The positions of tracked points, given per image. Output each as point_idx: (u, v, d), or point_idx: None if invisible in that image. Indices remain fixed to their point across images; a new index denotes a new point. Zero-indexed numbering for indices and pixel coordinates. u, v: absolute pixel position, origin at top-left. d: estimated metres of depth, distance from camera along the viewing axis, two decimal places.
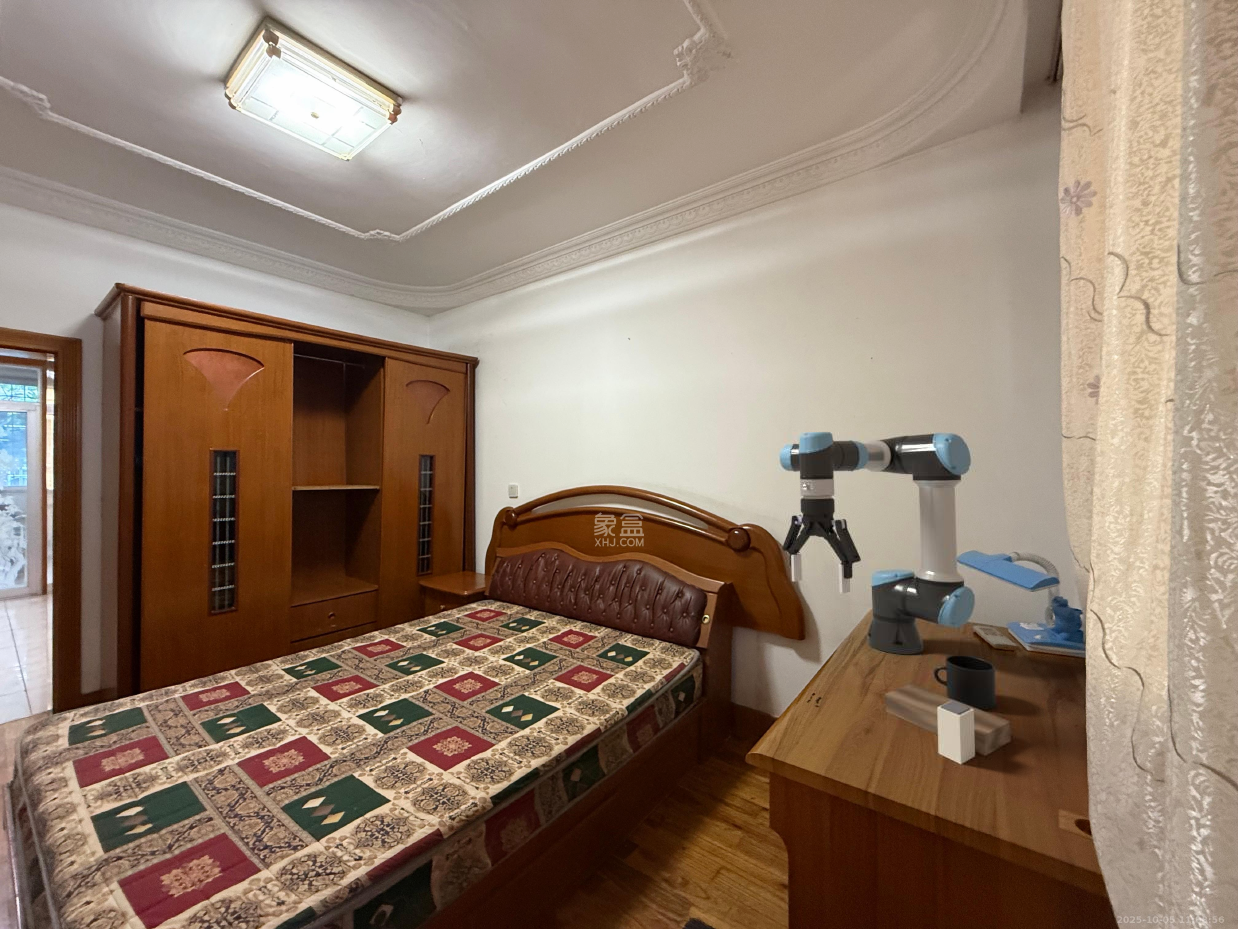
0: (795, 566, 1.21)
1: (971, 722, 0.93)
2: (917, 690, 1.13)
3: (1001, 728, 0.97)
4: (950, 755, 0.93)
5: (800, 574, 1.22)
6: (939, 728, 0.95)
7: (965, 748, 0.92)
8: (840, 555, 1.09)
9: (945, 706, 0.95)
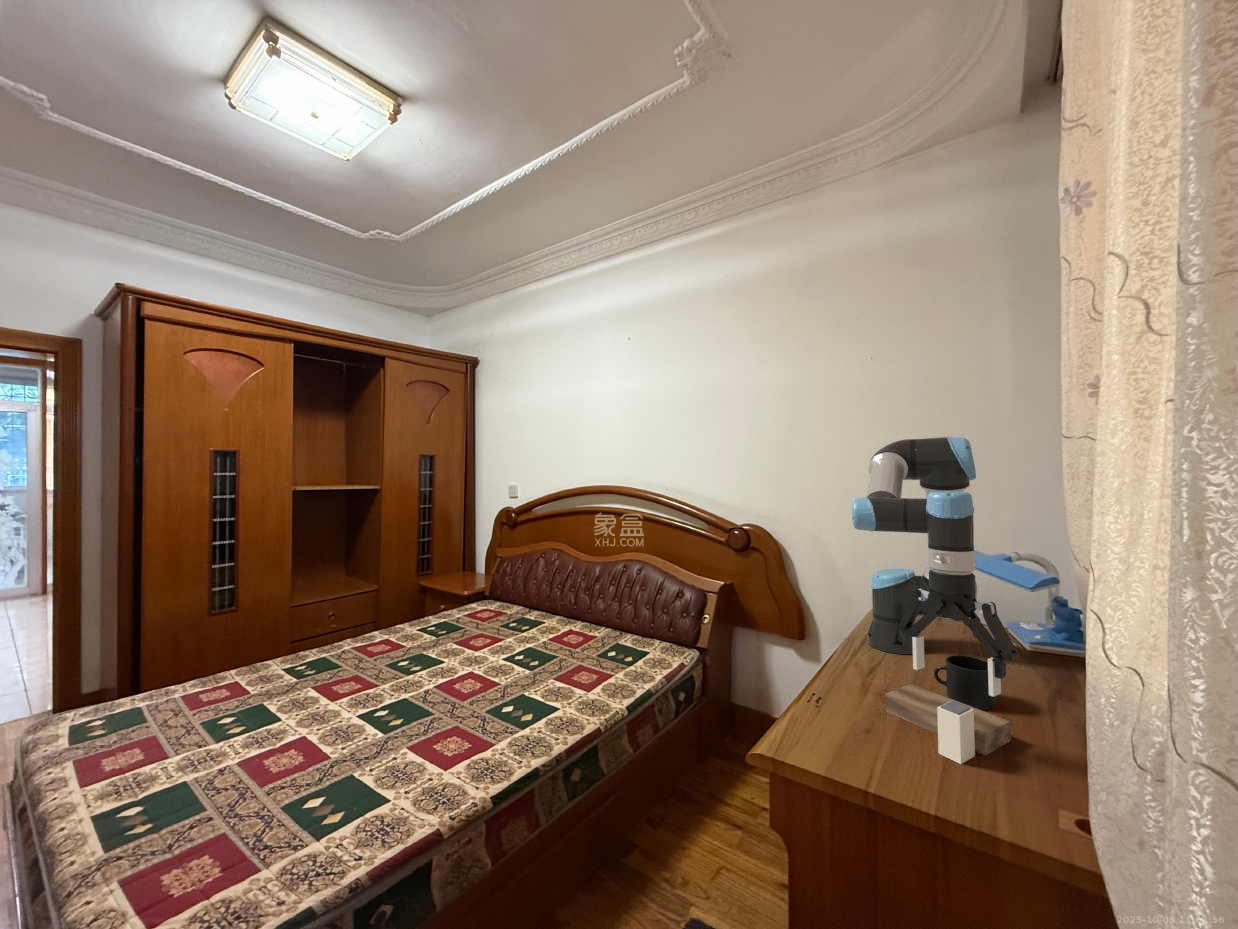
0: (918, 650, 1.00)
1: (971, 722, 0.93)
2: (917, 690, 1.13)
3: (1001, 728, 0.97)
4: (950, 755, 0.93)
5: (922, 660, 1.00)
6: (939, 728, 0.95)
7: (965, 748, 0.92)
8: (990, 648, 0.88)
9: (945, 706, 0.95)
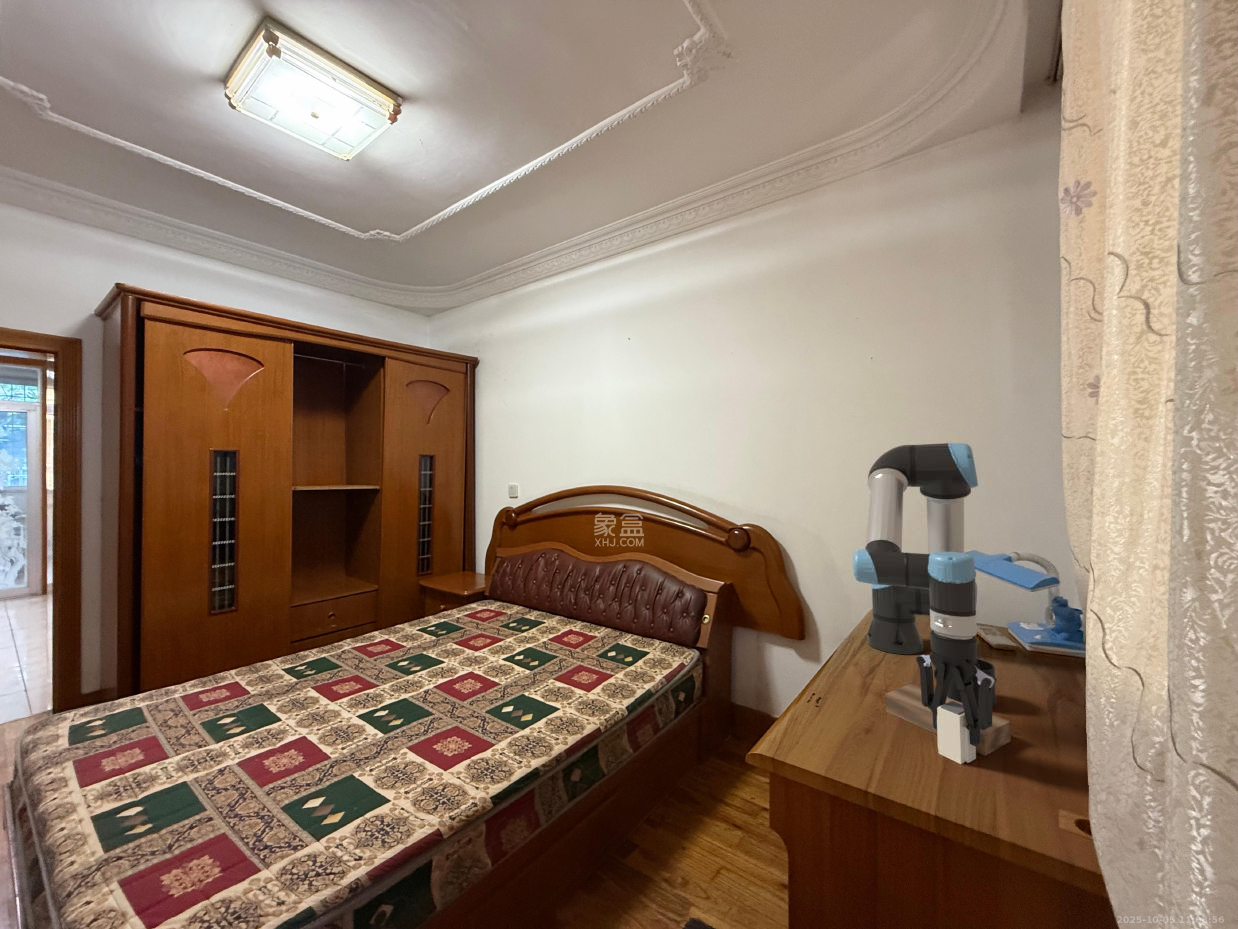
0: None
1: None
2: (917, 690, 1.13)
3: (1001, 728, 0.97)
4: (950, 755, 0.93)
5: None
6: (939, 728, 0.95)
7: None
8: (969, 716, 0.91)
9: (945, 706, 0.95)
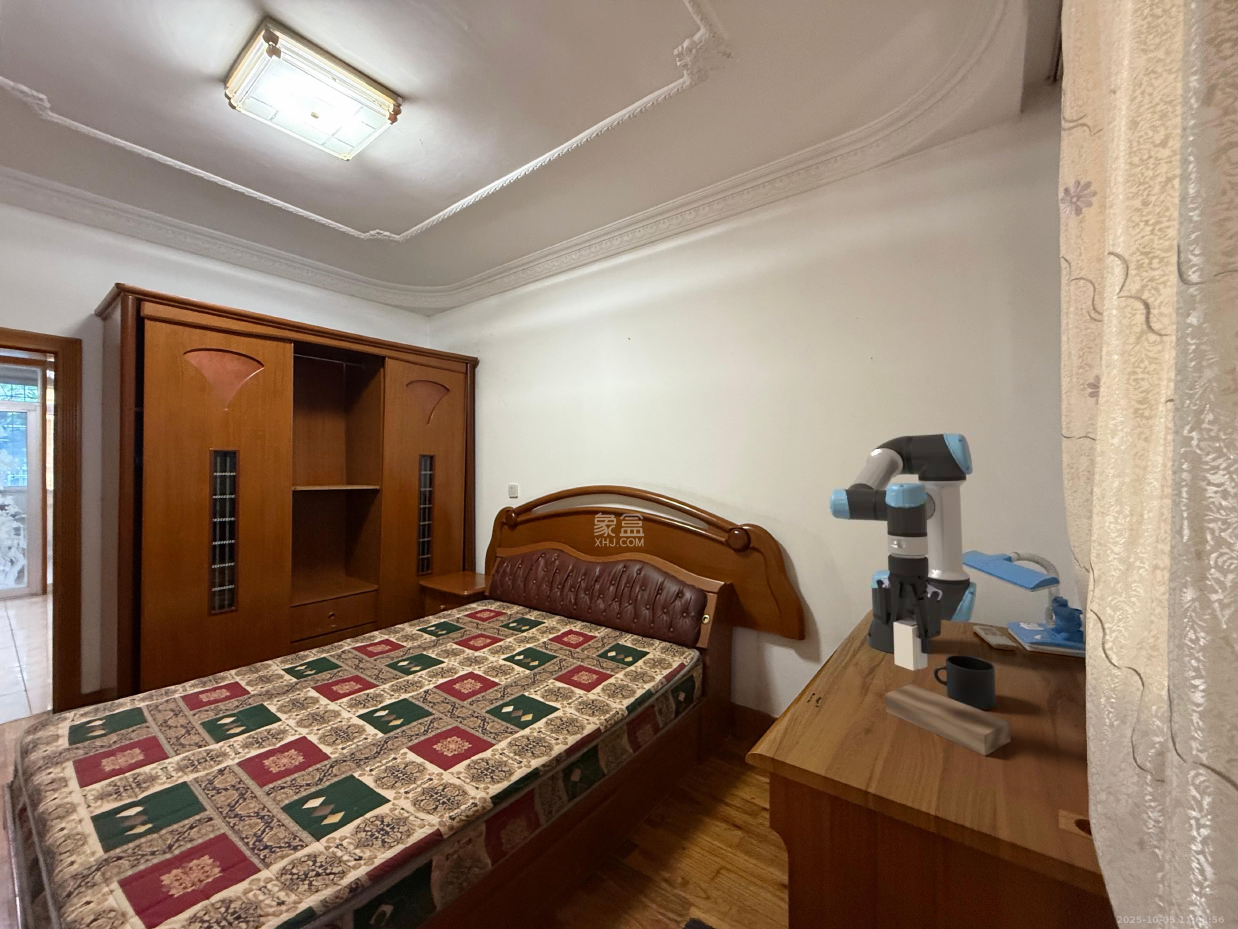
0: None
1: None
2: (917, 690, 1.13)
3: (1001, 728, 0.97)
4: (904, 664, 1.03)
5: None
6: (895, 641, 1.05)
7: None
8: (921, 627, 1.01)
9: (900, 621, 1.05)
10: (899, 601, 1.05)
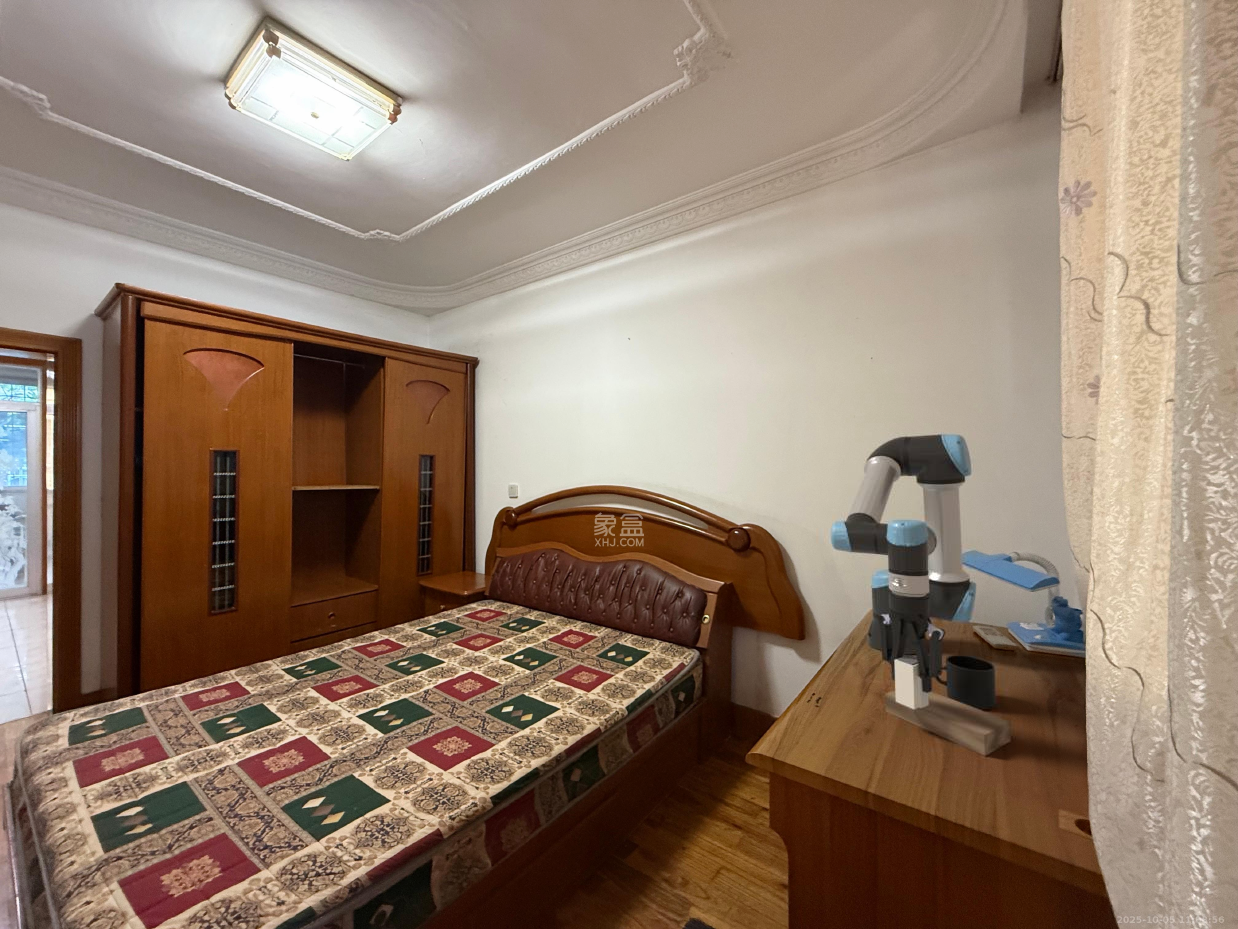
0: None
1: None
2: None
3: (1001, 728, 0.97)
4: (905, 702, 1.03)
5: None
6: (896, 678, 1.05)
7: None
8: (922, 666, 1.01)
9: (901, 658, 1.05)
10: (900, 638, 1.05)
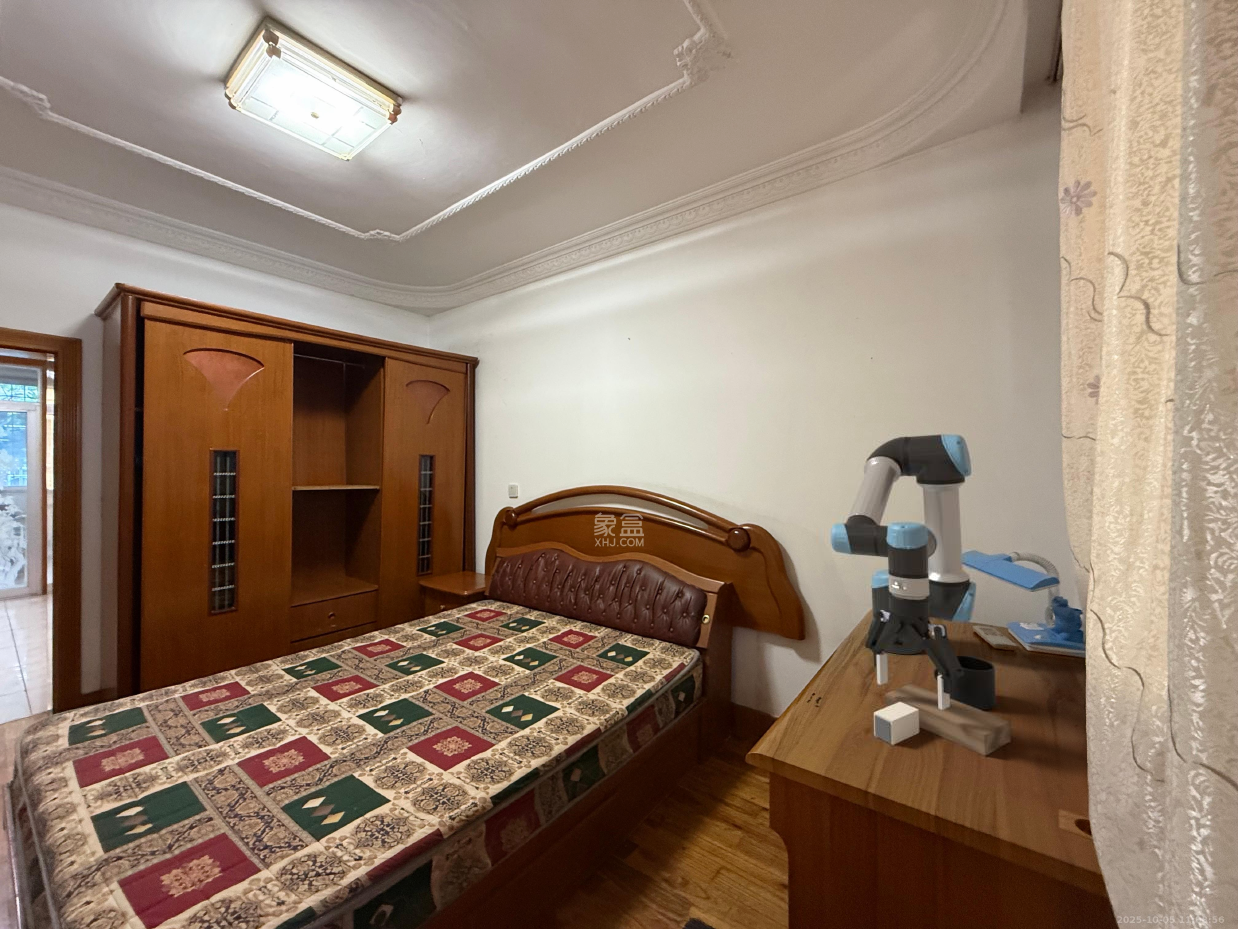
0: (881, 667, 1.10)
1: (898, 723, 0.99)
2: (917, 690, 1.13)
3: (1001, 728, 0.97)
4: None
5: (885, 676, 1.10)
6: None
7: (912, 728, 1.01)
8: (939, 666, 0.98)
9: (877, 733, 1.01)
10: (892, 636, 1.07)
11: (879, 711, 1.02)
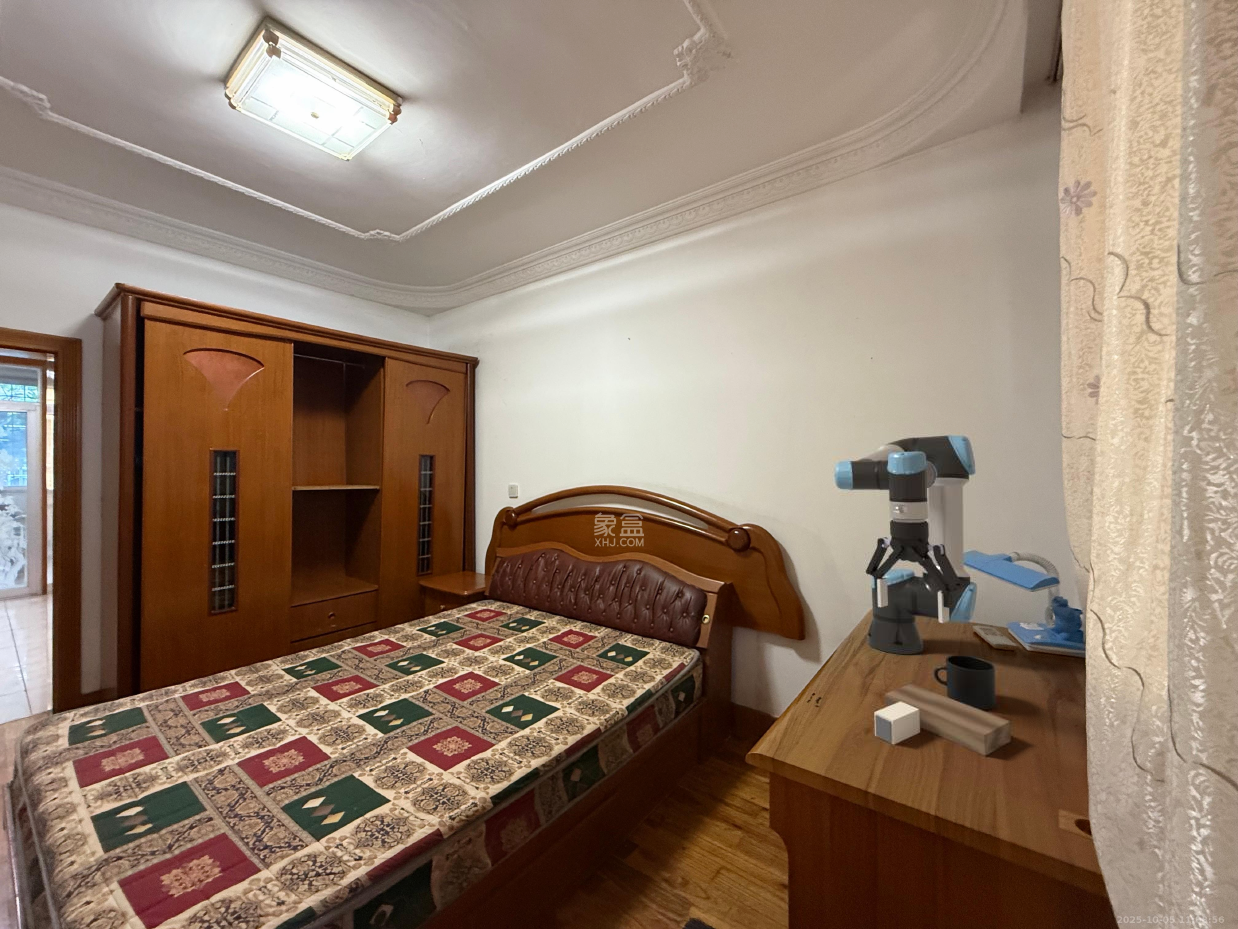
0: (882, 590, 1.15)
1: (899, 722, 0.99)
2: (917, 690, 1.13)
3: (1001, 728, 0.97)
4: None
5: (886, 599, 1.16)
6: None
7: (912, 727, 1.01)
8: (939, 582, 1.03)
9: (878, 733, 1.01)
10: (893, 560, 1.12)
11: (880, 711, 1.02)
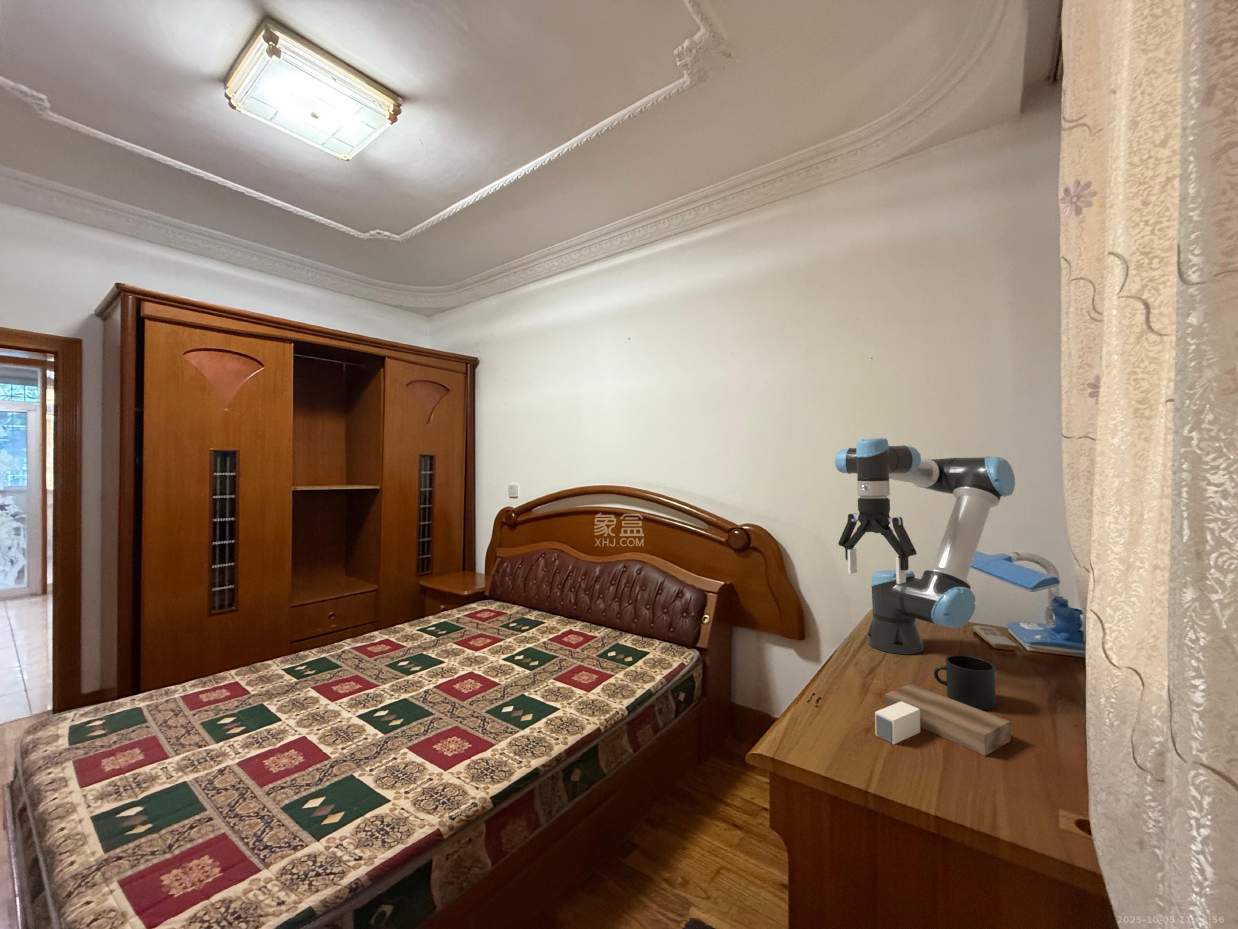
0: (851, 559, 1.33)
1: (900, 722, 0.99)
2: (917, 690, 1.13)
3: (1001, 728, 0.97)
4: None
5: (855, 567, 1.34)
6: None
7: (913, 727, 1.02)
8: (897, 549, 1.21)
9: (878, 733, 1.01)
10: (860, 532, 1.30)
11: (880, 710, 1.02)
